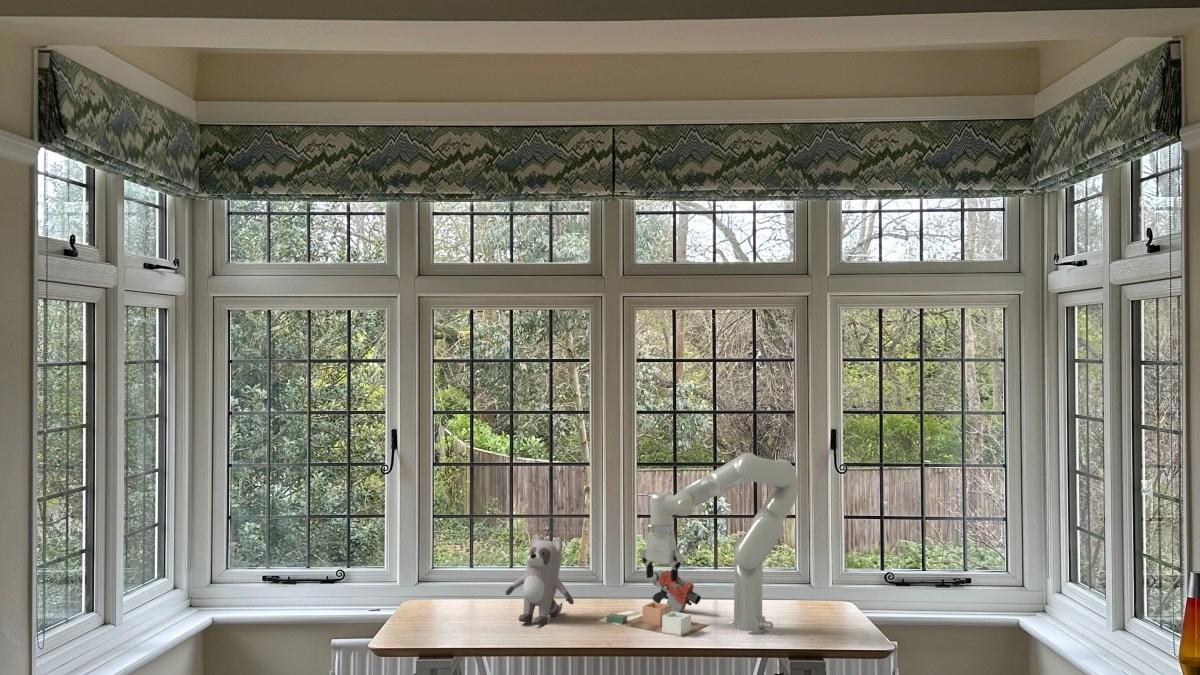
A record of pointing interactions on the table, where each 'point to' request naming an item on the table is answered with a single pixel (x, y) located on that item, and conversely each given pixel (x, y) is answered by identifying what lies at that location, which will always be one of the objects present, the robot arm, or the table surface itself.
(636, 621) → the board
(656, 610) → the peach open cubby box
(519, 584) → the toy
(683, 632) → the white open cubby box
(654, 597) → the toy gun
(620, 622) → the tin
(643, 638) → the table surface
